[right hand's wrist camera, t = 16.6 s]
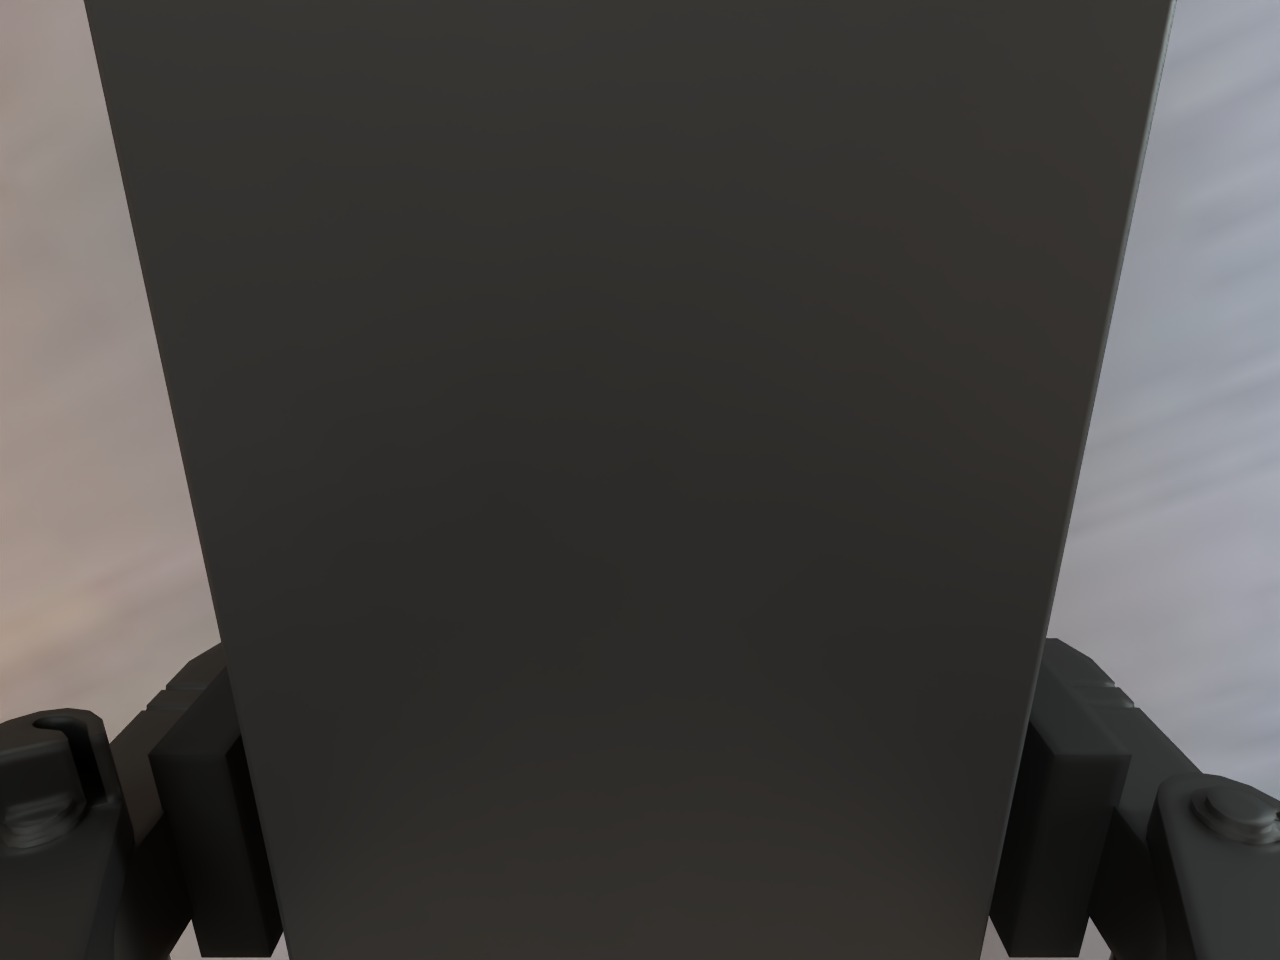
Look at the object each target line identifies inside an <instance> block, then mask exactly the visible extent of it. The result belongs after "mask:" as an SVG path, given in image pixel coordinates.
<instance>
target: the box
mask: <svg viewBox="0 0 1280 960" xmlns="http://www.w3.org/2000/svg"><path fill="white" fill-rule="evenodd" d="M1176 2H1177V0H84V3H85V8H86V13H87V17H88V22H89V27H90V31H91V36H92V41H93V45H94V50H95V55H96V59H97V64H98V69H99V73H100V78H101V83H102V87H103V92H104V97H105V101H106V106H107V111H108V115H109V120H110V125H111V129H112V134H113V139H114V143H115V148H116V153H117V157H118V162H119V167H120V171H121V176H122V181H123V185H124V190H125V195H126V199H127V204H128V209H129V213H130V218H131V222H132V227H133V232H134V236H135V241H136V246H137V250H138V255H139V260H140V264H141V269H142V274H143V278H144V283H145V288H146V292H147V297H148V302H149V306H150V311H151V316H152V320H153V325H154V330H155V334H156V339H157V344H158V348H159V353H160V358H161V362H162V367H163V372H164V376H165V381H166V386H167V390H168V395H169V400H170V404H171V409H172V414H173V418H174V423H175V428H176V432H177V437H178V442H179V446H180V451H181V456H182V460H183V465H184V470H185V474H186V479H187V484H188V488H189V493H190V498H191V502H192V507H193V512H194V516H195V521H196V526H197V530H198V535H199V540H200V544H201V549H202V554H203V558H204V563H205V568H206V572H207V577H208V582H209V586H210V591H211V596H212V600H213V605H214V610H215V614H216V619H217V624H218V628H219V633H220V638H221V642H222V647H223V652H224V656H225V661H226V666H227V670H228V675H229V680H230V684H231V689H232V694H233V698H234V703H235V708H236V712H237V717H238V722H239V726H240V731H241V736H242V740H243V745H244V750H245V754H246V759H247V764H248V768H249V773H250V778H251V782H252V787H253V792H254V796H255V801H256V806H257V810H258V815H259V820H260V824H261V829H262V834H263V838H264V843H265V848H266V852H267V857H268V862H269V866H270V871H271V876H272V880H273V885H274V890H275V894H276V899H277V904H278V908H279V913H280V918H281V922H282V927H283V931H284V936H285V941H286V945H287V950H288V955H289V959H290V960H980V956H981V951H982V946H983V941H984V936H985V931H986V926H987V922H988V917H989V912H990V907H991V902H992V897H993V892H994V887H995V883H996V878H997V873H998V868H999V863H1000V858H1001V853H1002V849H1003V844H1004V839H1005V834H1006V829H1007V824H1008V819H1009V815H1010V810H1011V805H1012V800H1013V795H1014V790H1015V785H1016V780H1017V776H1018V771H1019V766H1020V761H1021V756H1022V751H1023V746H1024V742H1025V737H1026V732H1027V727H1028V722H1029V717H1030V712H1031V708H1032V703H1033V698H1034V693H1035V688H1036V683H1037V678H1038V673H1039V669H1040V664H1041V659H1042V654H1043V649H1044V644H1045V639H1046V635H1047V630H1048V625H1049V620H1050V615H1051V610H1052V605H1053V601H1054V596H1055V591H1056V586H1057V581H1058V576H1059V571H1060V566H1061V562H1062V557H1063V552H1064V547H1065V542H1066V537H1067V532H1068V528H1069V523H1070V518H1071V513H1072V508H1073V503H1074V498H1075V494H1076V489H1077V484H1078V479H1079V474H1080V469H1081V464H1082V459H1083V455H1084V450H1085V445H1086V440H1087V435H1088V430H1089V425H1090V421H1091V416H1092V411H1093V406H1094V401H1095V396H1096V391H1097V387H1098V382H1099V377H1100V372H1101V367H1102V362H1103V357H1104V352H1105V348H1106V343H1107V338H1108V333H1109V328H1110V323H1111V318H1112V314H1113V309H1114V304H1115V299H1116V294H1117V289H1118V284H1119V280H1120V275H1121V270H1122V265H1123V260H1124V255H1125V250H1126V245H1127V241H1128V236H1129V231H1130V226H1131V221H1132V216H1133V211H1134V207H1135V202H1136V197H1137V192H1138V187H1139V182H1140V177H1141V173H1142V168H1143V163H1144V158H1145V153H1146V148H1147V143H1148V138H1149V134H1150V129H1151V124H1152V119H1153V114H1154V109H1155V104H1156V100H1157V95H1158V90H1159V85H1160V80H1161V75H1162V70H1163V66H1164V61H1165V56H1166V51H1167V46H1168V41H1169V36H1170V31H1171V27H1172V22H1173V17H1174V12H1175V7H1176Z"/></svg>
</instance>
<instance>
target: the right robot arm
mask: <svg viewBox="0 0 1280 960" xmlns="http://www.w3.org/2000/svg"><path fill="white" fill-rule="evenodd" d="M1114 684H1115V683H1114V682H1113V680H1112V679H1111V678H1110V677H1109V676H1108V675H1107V674H1106V673H1105V672H1104V671H1103V670H1102V669H1101V668H1100V667H1099V666H1098V665H1097V664H1096V663H1095V662H1094V661H1093V660H1092V659H1091V658H1089V657H1088V656H1086V655H1084V654H1083V653H1081V652H1079V651H1077V650H1076V649H1074V648H1072V647H1071V646H1069V645H1067V644H1066V643H1064V642H1062V641H1061V640H1059V639H1057V638H1046V639H1045V644H1044V649H1043V654H1042V659H1041V664H1040V669H1039V673H1038V678H1037V683H1036V688H1035V693H1034V698H1033V703H1032V708H1031V712H1030V717H1029V722H1028V727H1027V732H1026V737H1025V742H1024V746H1023V751H1022V756H1021V761H1020V766H1019V771H1018V776H1017V780H1016V785H1015V790H1014V795H1013V800H1012V805H1011V810H1010V815H1009V819H1008V824H1007V829H1006V834H1005V839H1004V844H1003V849H1002V853H1001V858H1000V863H999V868H998V873H997V878H996V883H995V887H994V892H993V897H992V902H991V907H990V912H989V916H990V918H991V920H992V922H993V925H994V927H995V929H996V931H997V933H998V935H999V937H1000V939H1001V941H1002V943H1003V945H1004V947H1005V949H1006V951H1007V953H1008V956H1009V957H1079V953H1080V949H1081V946H1082V942H1083V938H1084V934H1085V931H1086V927H1087V923H1088V919H1089V916H1090V918H1091V919H1092V921H1093V923H1094V924H1095V926H1096V927H1097V929H1098V931H1099V932H1100V934H1101V935H1102V937H1103V939H1104V940H1105V942H1106V943H1107V945H1108V947H1109V948H1110V950H1111V955H1110V958H1109V960H1280V801H1278V800H1277V799H1275V798H1273V797H1271V796H1269V795H1267V794H1265V793H1263V792H1261V791H1259V790H1257V789H1255V788H1254V787H1252V786H1249V785H1246V784H1243V783H1240V782H1237V781H1234V780H1231V779H1228V778H1225V777H1222V776H1217V775H1210V774H1203V773H1202V772H1201V771H1200V770H1199V769H1198V768H1197V767H1196V766H1195V765H1194V764H1193V763H1192V762H1191V761H1190V760H1189V759H1188V758H1187V757H1186V756H1185V755H1184V754H1183V753H1182V752H1181V751H1180V750H1179V748H1178V747H1177V746H1176V745H1175V744H1174V743H1173V742H1172V741H1171V740H1170V739H1169V738H1168V737H1167V736H1166V735H1165V734H1164V733H1163V732H1162V731H1161V730H1160V729H1159V728H1158V727H1157V726H1156V725H1155V724H1154V723H1153V722H1152V721H1151V720H1150V719H1149V718H1148V717H1147V716H1146V714H1145V713H1144V712H1143V711H1142V710H1141V709H1140V708H1135V707H1134V702H1133V701H1132V700H1131V699H1130V698H1129V697H1128V696H1127V695H1126V694H1125V693H1124V692H1123V691H1122V690H1121V689H1120V688H1119V687H1115V685H1114ZM191 919H192V923H193V927H194V930H195V934H196V938H197V942H198V945H199V949H200V953H201V957H271V956H272V954H273V951H274V949H275V947H276V945H277V943H278V941H279V939H280V937H281V935H282V933H283V927H282V922H281V918H280V913H279V908H278V904H277V899H276V894H275V890H274V885H273V880H272V876H271V871H270V866H269V862H268V857H267V852H266V848H265V843H264V838H263V834H262V829H261V824H260V820H259V815H258V810H257V806H256V801H255V796H254V792H253V787H252V782H251V778H250V773H249V768H248V764H247V759H246V754H245V750H244V745H243V740H242V736H241V731H240V726H239V722H238V717H237V712H236V708H235V703H234V698H233V694H232V689H231V684H230V680H229V675H228V670H227V666H226V661H225V656H224V652H223V647H222V642H221V643H219V644H217V645H216V646H214V647H212V648H211V649H209V650H207V651H206V652H204V653H202V654H201V655H199V656H197V657H196V658H194V659H192V660H191V661H189V662H188V663H187V664H186V665H185V666H184V667H183V668H182V669H181V670H180V671H179V673H178V674H177V675H176V676H175V677H174V678H173V679H172V680H171V681H170V682H169V683H168V684H167V685H166V690H161V691H160V692H159V693H158V694H157V695H156V696H155V697H154V698H153V699H152V701H151V702H150V703H149V704H148V705H147V709H146V711H141V712H140V713H139V714H138V715H137V716H136V717H135V718H134V719H133V720H132V721H131V722H130V723H129V724H128V725H127V726H126V727H125V729H124V730H123V731H122V732H121V733H120V734H119V735H118V736H117V737H116V738H115V739H114V740H113V741H112V742H111V743H110V744H109V741H108V738H107V734H106V731H105V727H104V724H103V720H102V719H101V718H100V717H98V716H97V715H95V714H94V713H92V712H91V711H88V710H80V709H72V708H64V709H55V710H47V711H39V712H36V713H32V714H29V715H25V716H22V717H18V718H15V719H12V720H8V721H6V722H4V723H1V724H0V960H171V958H170V955H169V954H170V953H171V951H172V949H173V948H174V946H175V944H176V943H177V941H178V940H179V938H180V936H181V935H182V933H183V932H184V930H185V928H186V927H187V925H188V923H189V922H190V920H191Z"/></svg>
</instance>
